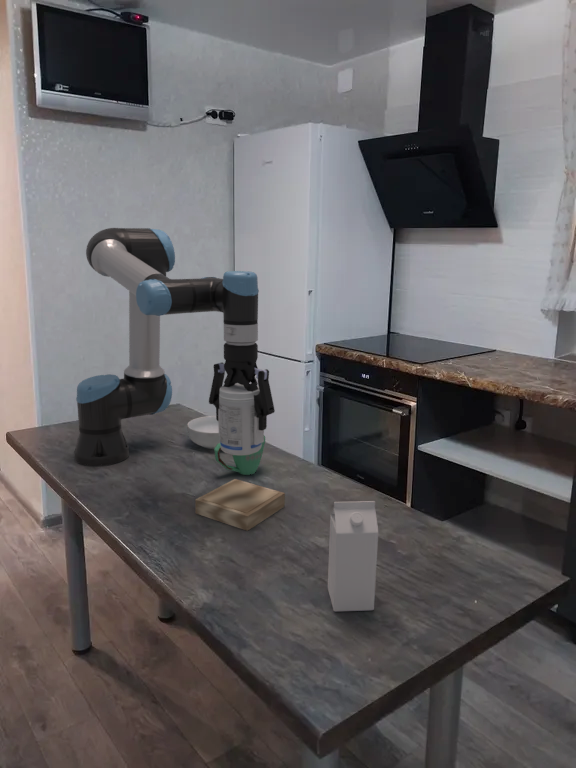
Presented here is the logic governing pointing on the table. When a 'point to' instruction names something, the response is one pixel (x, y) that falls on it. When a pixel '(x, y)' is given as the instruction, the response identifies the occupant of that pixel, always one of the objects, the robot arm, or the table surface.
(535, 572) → the table surface
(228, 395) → the supplement tub
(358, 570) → the milk carton
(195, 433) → the cereal bowl
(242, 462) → the mug
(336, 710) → the table surface
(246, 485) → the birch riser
